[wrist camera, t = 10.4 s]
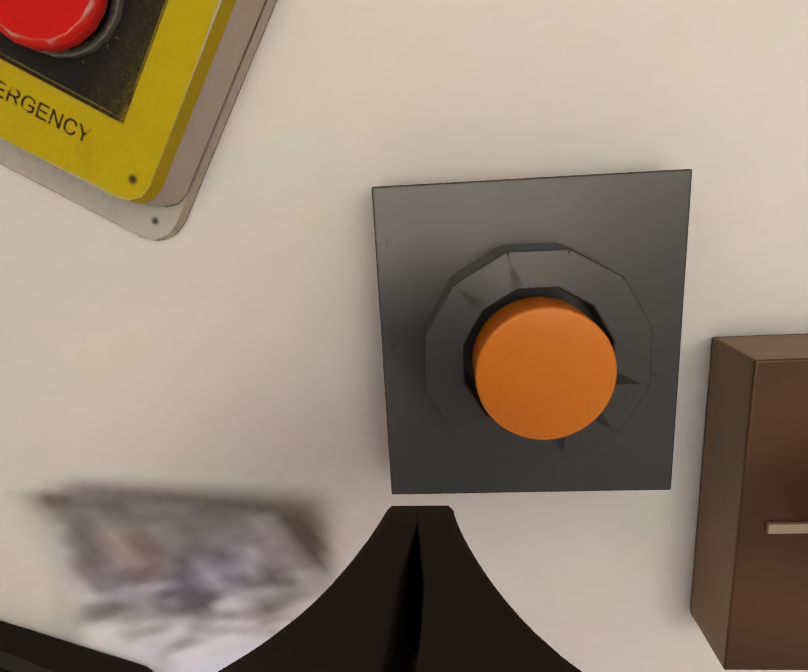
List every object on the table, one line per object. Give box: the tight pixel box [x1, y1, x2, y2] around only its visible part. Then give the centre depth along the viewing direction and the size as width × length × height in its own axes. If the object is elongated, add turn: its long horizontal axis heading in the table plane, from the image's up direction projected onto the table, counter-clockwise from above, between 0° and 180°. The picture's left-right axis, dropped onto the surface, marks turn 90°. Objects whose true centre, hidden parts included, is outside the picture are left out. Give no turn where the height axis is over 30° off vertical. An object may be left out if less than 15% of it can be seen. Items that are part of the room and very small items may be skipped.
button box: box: [372, 169, 692, 494], centre depth 20 cm, size 11×10×4 cm
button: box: [472, 296, 617, 440], centre depth 17 cm, size 4×4×2 cm
